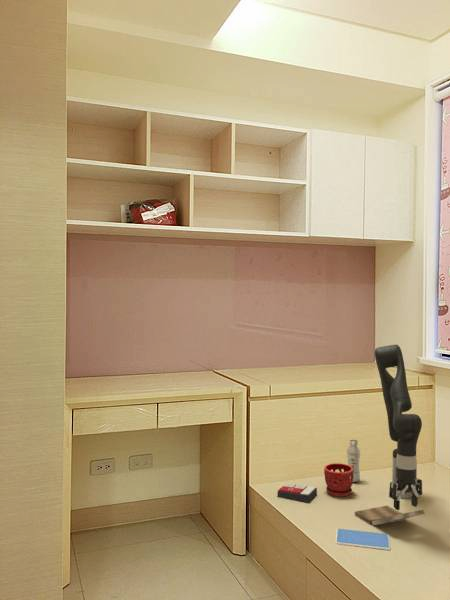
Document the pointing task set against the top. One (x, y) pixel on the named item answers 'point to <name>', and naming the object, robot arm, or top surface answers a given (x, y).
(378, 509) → the laid board
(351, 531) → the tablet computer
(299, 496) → the multicoloured piece
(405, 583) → the top surface
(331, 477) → the plant pot
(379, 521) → the plank
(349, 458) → the plastic bottle
